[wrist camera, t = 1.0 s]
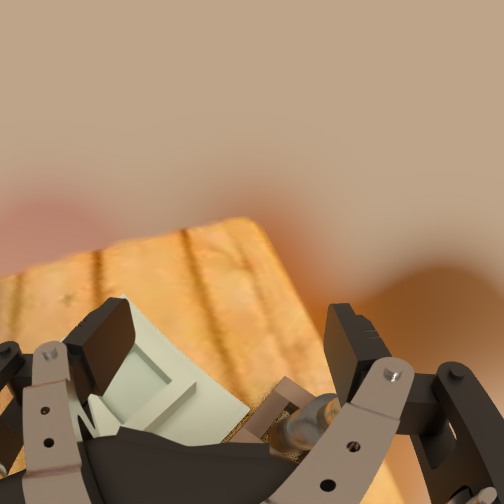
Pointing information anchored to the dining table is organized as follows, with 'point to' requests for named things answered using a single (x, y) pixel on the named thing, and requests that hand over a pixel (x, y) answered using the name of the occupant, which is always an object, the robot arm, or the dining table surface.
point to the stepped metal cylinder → (304, 425)
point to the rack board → (165, 393)
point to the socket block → (274, 413)
